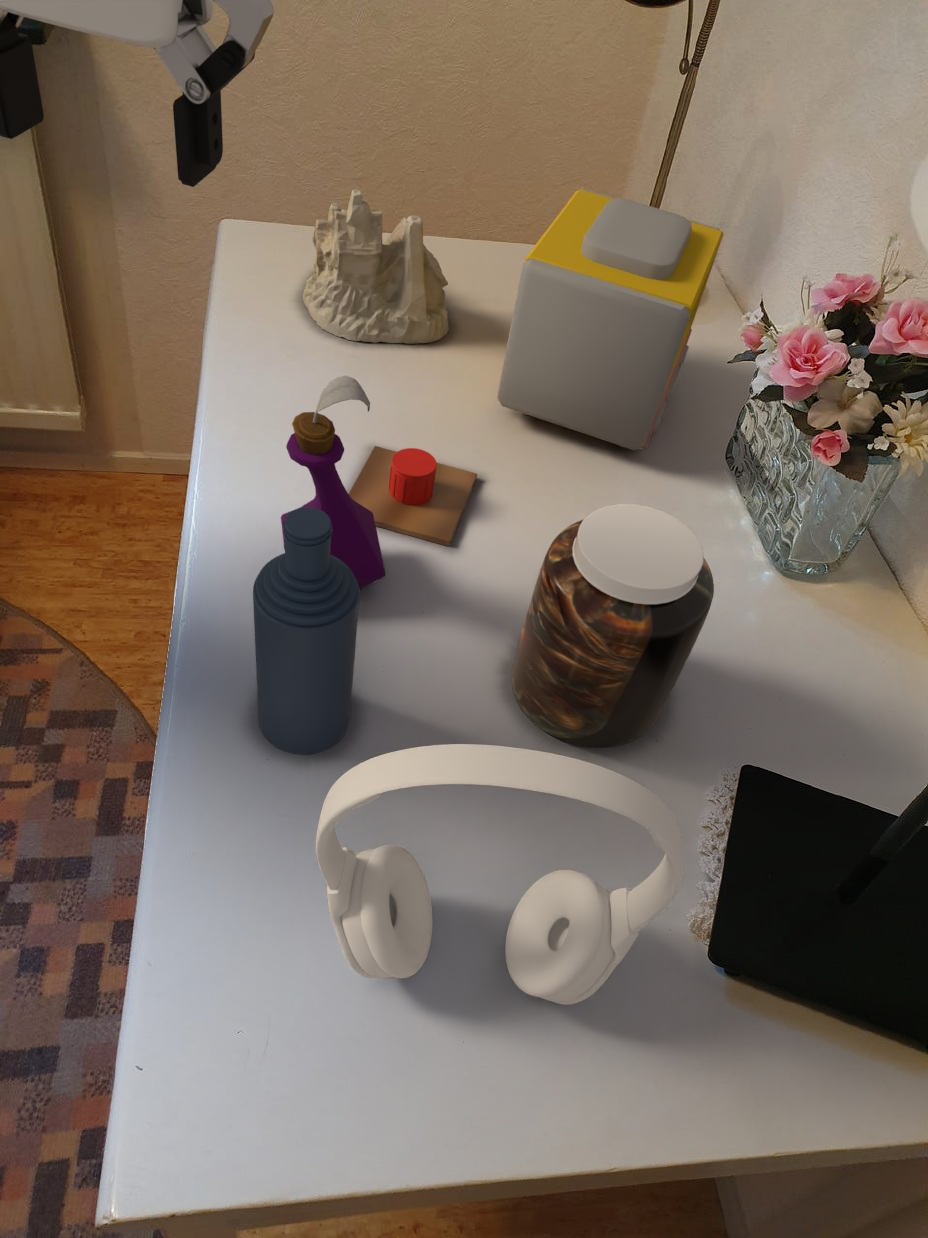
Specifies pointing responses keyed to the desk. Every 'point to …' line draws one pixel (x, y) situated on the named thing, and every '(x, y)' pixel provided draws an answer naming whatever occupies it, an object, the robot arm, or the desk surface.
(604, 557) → the jar
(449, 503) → the coaster
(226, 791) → the desk surface
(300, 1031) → the desk surface
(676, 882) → the headphones
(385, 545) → the desk surface
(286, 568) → the water bottle
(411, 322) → the beige rough towered piece
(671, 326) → the alarm clock
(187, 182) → the robot arm
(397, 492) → the cap
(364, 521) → the perfume bottle
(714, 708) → the desk surface
